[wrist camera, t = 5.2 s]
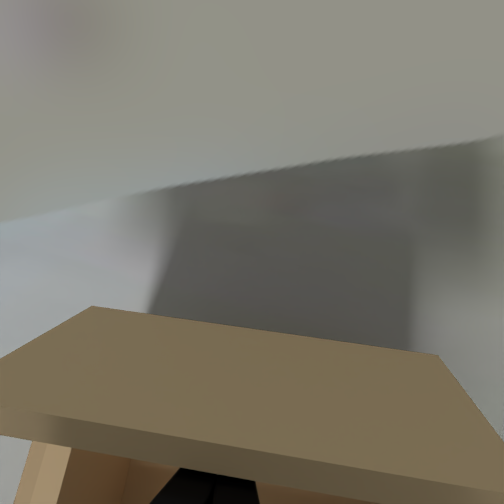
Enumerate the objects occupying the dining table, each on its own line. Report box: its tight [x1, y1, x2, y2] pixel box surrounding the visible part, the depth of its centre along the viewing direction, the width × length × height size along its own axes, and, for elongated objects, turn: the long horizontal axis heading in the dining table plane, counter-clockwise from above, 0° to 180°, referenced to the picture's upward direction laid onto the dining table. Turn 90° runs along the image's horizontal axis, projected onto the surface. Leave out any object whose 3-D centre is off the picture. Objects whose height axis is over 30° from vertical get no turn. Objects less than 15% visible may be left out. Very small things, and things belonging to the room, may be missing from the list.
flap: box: [0, 306, 504, 504], centre depth 11 cm, size 6×11×1 cm
